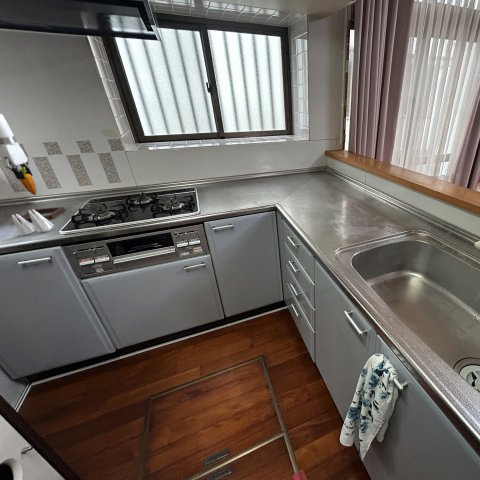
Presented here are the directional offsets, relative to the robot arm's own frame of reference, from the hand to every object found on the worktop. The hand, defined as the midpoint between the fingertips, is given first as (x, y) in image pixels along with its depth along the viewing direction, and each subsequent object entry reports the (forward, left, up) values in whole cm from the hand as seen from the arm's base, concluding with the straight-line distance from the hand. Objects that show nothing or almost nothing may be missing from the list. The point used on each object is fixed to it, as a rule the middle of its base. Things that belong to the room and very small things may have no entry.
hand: (25, 177), depth 139 cm
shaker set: (+14, -32, -18) cm, 40 cm away
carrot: (0, 0, -10) cm, 10 cm away
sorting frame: (+5, -11, -18) cm, 22 cm away
